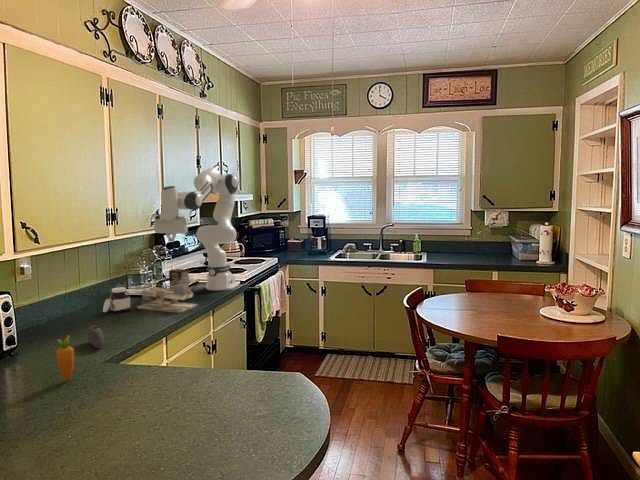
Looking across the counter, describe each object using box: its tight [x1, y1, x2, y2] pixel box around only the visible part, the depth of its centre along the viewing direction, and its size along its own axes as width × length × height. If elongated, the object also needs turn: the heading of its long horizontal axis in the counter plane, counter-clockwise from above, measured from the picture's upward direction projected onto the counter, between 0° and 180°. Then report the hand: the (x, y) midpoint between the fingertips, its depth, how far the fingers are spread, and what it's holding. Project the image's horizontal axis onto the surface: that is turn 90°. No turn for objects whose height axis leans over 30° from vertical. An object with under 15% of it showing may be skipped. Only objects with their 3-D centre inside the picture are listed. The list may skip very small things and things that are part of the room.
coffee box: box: [168, 268, 190, 290], centre depth 271 cm, size 9×6×16 cm
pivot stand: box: [136, 285, 199, 314], centre depth 251 cm, size 15×27×10 cm, turn 67°
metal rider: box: [174, 284, 188, 294], centre depth 247 cm, size 4×6×4 cm, turn 67°
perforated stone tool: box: [86, 324, 105, 349], centre depth 192 cm, size 15×5×7 cm, turn 34°
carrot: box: [56, 335, 75, 382], centre depth 156 cm, size 5×5×15 cm
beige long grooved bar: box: [141, 286, 194, 301], centre depth 251 cm, size 8×27×6 cm, turn 67°
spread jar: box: [102, 286, 131, 314], centre depth 244 cm, size 12×11×12 cm
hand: (171, 241), depth 261 cm, fingers closed
